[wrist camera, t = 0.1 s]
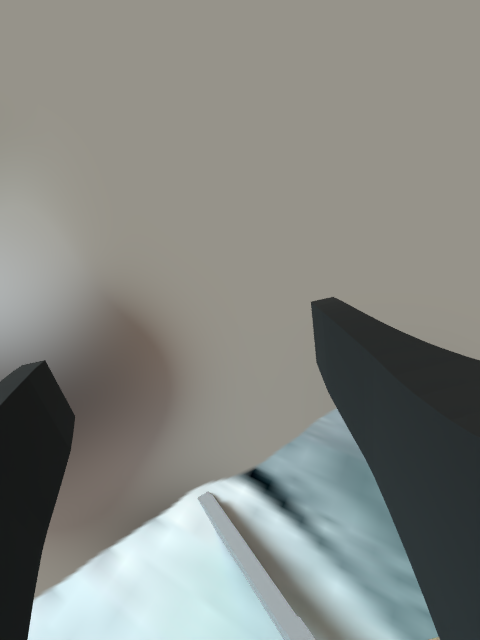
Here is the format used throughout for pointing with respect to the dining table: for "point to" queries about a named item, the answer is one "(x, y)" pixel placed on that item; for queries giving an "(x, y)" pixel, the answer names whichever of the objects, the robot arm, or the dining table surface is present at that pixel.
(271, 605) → the caliper
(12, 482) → the robot arm
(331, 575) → the dining table surface
